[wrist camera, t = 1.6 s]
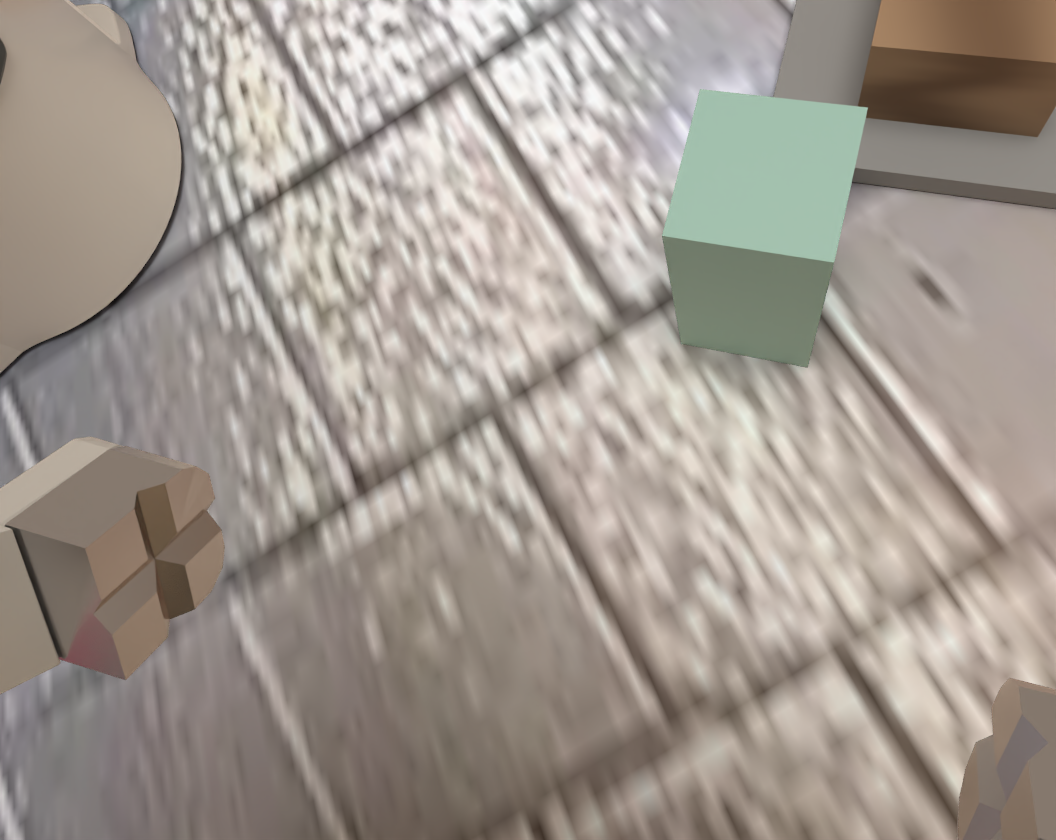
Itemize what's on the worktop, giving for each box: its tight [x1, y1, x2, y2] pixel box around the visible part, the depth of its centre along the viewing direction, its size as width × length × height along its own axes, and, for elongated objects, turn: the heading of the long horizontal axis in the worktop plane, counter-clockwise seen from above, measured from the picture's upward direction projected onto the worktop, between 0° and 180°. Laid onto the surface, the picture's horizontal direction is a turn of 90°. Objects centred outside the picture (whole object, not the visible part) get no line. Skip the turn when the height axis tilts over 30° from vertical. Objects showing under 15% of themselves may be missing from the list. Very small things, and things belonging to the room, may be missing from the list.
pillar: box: [662, 89, 868, 367], centre depth 28 cm, size 4×4×9 cm
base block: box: [858, 0, 1056, 137], centre depth 30 cm, size 6×6×4 cm
